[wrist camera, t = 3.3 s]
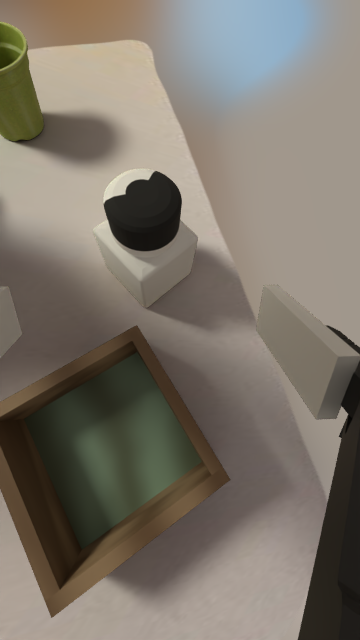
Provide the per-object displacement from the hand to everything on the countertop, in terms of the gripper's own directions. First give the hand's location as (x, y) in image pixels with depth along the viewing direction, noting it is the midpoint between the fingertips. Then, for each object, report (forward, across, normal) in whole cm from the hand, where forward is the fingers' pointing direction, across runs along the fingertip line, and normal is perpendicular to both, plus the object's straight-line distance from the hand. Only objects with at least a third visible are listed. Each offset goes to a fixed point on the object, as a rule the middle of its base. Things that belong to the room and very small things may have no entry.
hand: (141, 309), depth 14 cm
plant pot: (+34, -18, +12) cm, 40 cm away
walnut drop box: (+5, -4, -16) cm, 17 cm away
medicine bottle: (+18, 0, -3) cm, 18 cm away
